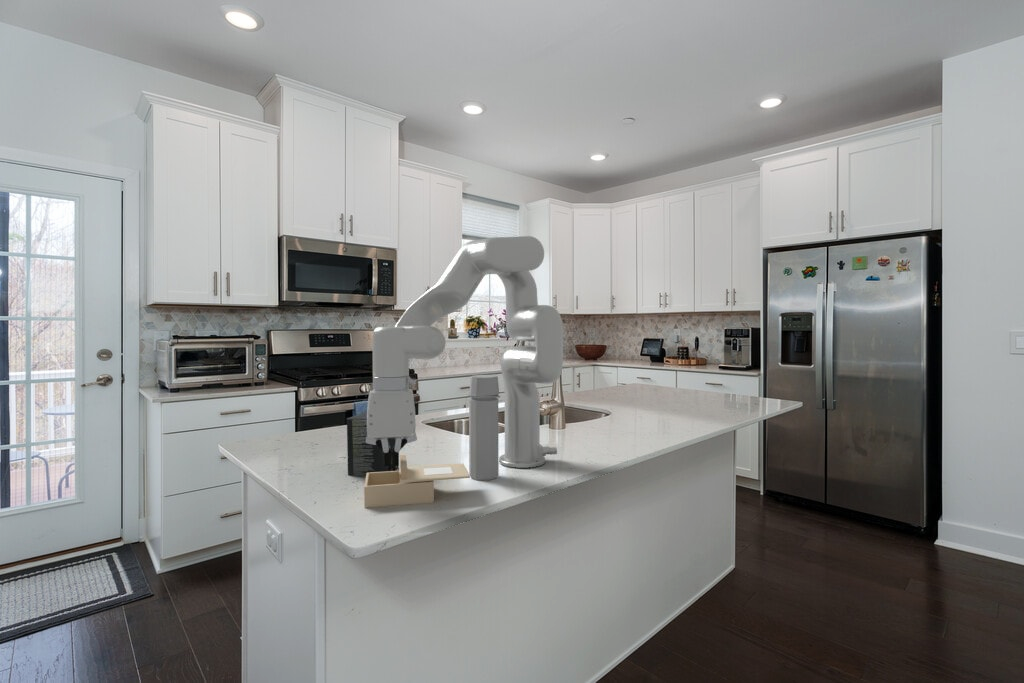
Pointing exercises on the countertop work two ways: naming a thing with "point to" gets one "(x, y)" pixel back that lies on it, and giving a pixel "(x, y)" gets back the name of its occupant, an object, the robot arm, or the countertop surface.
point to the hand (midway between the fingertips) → (391, 469)
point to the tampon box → (364, 449)
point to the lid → (430, 472)
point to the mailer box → (395, 490)
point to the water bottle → (483, 427)
